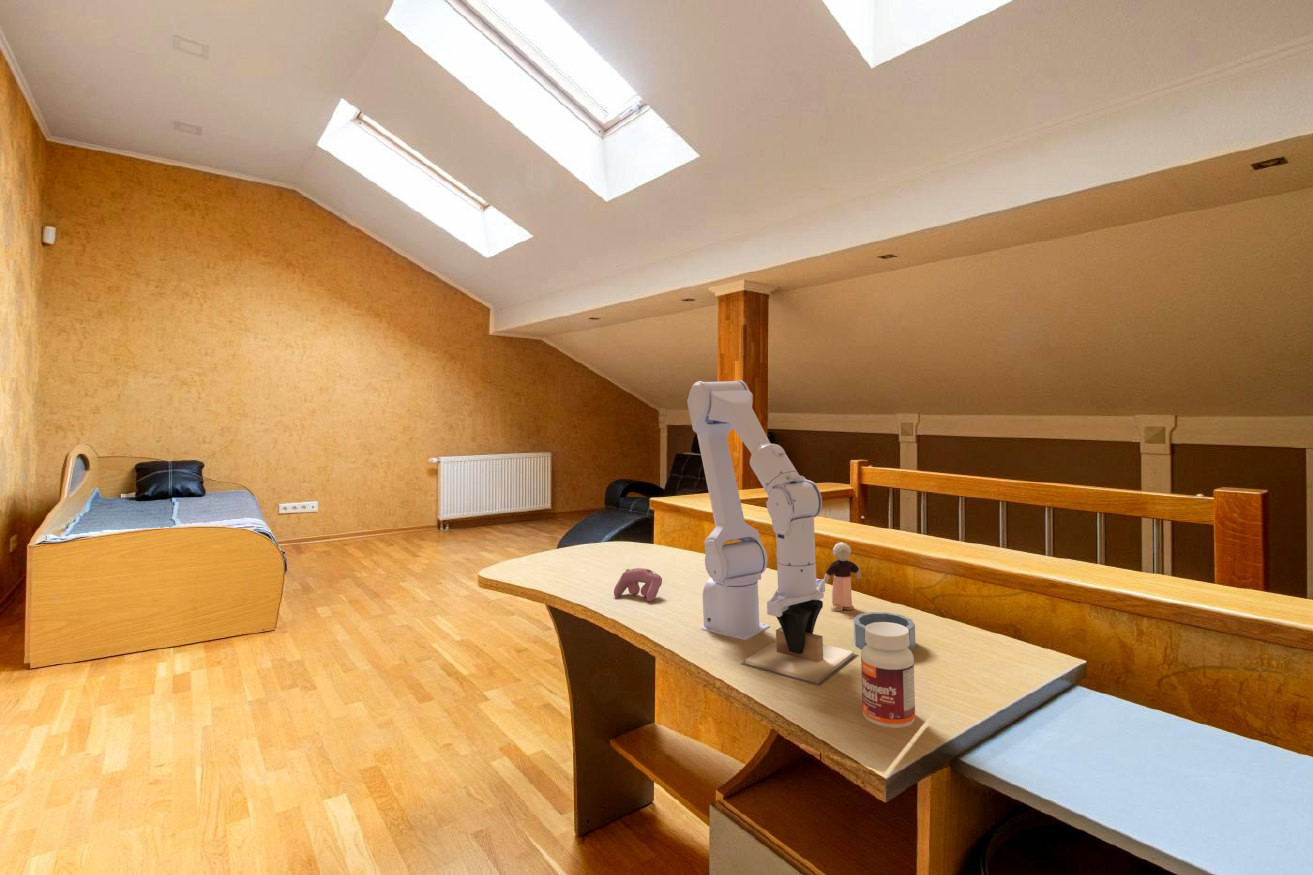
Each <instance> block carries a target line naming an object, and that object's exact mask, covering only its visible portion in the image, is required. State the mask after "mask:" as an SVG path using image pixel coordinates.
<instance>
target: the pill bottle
mask: <svg viewBox="0 0 1313 875" xmlns="http://www.w3.org/2000/svg"><path fill="white" fill-rule="evenodd" d="M865 642H866V643H867V645H866V646H864V647H863V649H861V651H860V652H861V653H860V661H861V695H862V696H861V704H862V709H861V710H862V715H863V717H864V718H865V719H866V720H867V721H869V722H870V723H873V724H874V725H877V726H880V727H885V728H892V729H894V728H895V729H897V728H898V729H899V728H906V727H909V726H911V725H912V724H913V723H915V720H916V704H915V703H916V698H915V697H916V693H915V690H916V689H915V659H914V657H915V656H914V654H913V652H911V651H910V650H909V649H908V648H907V647H909V645H910V640H909V630H908V628H906V627H905V626H903V625H900V624H896V623H890V622H875V623H870V624H868V625H866V627H865Z"/></svg>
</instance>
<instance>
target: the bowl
mask: <svg viewBox="0 0 1313 875" xmlns="http://www.w3.org/2000/svg"><path fill="white" fill-rule="evenodd" d="M852 622H853V623H852V624H853V642H854V645H855V647H857V648H859V649H860V650H862V649H863V647H864V646H866V645H867V643H866V642H865V627H866V625H868V624H870V623H875V622H890V623H896V624H900V625H903V626H905V627H906V628H908V630H909V640H910V645H909V647H907V648H908V649H909V650H910V651H911V652H912V651H913V652H914V650H915V649H916V648H917V647H916V624H915V622H914V621H913V619H911V618H909V617H907V616H906V615H905V616H904V615H903V614H898V613H893V612H883V611H882V612H881V611H879V612H878V611H876V612H875V611H870V612H865V613H859V614H858V615H856V616H855V617H853V618H852ZM913 652H912V653H913Z"/></svg>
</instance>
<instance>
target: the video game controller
mask: <svg viewBox="0 0 1313 875" xmlns="http://www.w3.org/2000/svg"><path fill="white" fill-rule="evenodd" d="M639 583H644V584H643V585H642V586H641V587H640V585H639ZM662 585H663V577H662V576H661V575H660V574H658V573H656V572H655V571H653V570H651V569H649V568H642V567H635V568H626V569H625V571H624V572H623V573H622V574H621V576H620V578H619V579H618V581H617V582H616V584H615V586H614V589H613V595H614V597H615V598H618V597H621V596H622V595H623V593H624V592H625V591H626V590H628V593H629V594H631V595H632V596H636V595H638V594H639V593H640V594H641V595H642V596H644V598H645V597H646V601H647V602H648V603H651V602H653V601H654V600H655V599H656V597H657V595H658V594H659V589H660V588H661V586H662Z"/></svg>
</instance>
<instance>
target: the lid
mask: <svg viewBox="0 0 1313 875" xmlns="http://www.w3.org/2000/svg"><path fill="white" fill-rule="evenodd" d="M823 639H824V638H823V635H819V634H816V633H813V634H811V633H806V632H805V645H804V650H803V653H802V654H798V653H794V652H790V651H789V649H788V646H787V642H786V639H785V635H784V632H783V630H782V627H781V626H780V627H778V628H777V629H775V640H774V641H773V642H771V643H770V644H768V645H766V646H765V647H763V648H761V649H760V650H758V651H757V652H754V653H753V654H751V655H750V656H749V657H746V658H745V659H744V661H745V664H749V665H752V666H756V667H760V668H763V669H767V670H770V671H774V672H778V673H781V674H785V675H789V676H792V677H796V678H800V679H803V680H807V681H810V682H814V683H819V682H821V681H822V680H823V679H824V678H826V677H827V676H828V675H829V674H831V673H832V672H833V671H835V670H836V669H837V668H838V667H840V666H841V665H842V664H843V663H845V662H846V661H847V660H848V659H850V658H851V657H852V656H854V654H855V651H853V650H849V649H845V648H840V647H838V646H837V647H836V646H832V645H828V644H823V642H824V640H823Z"/></svg>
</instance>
